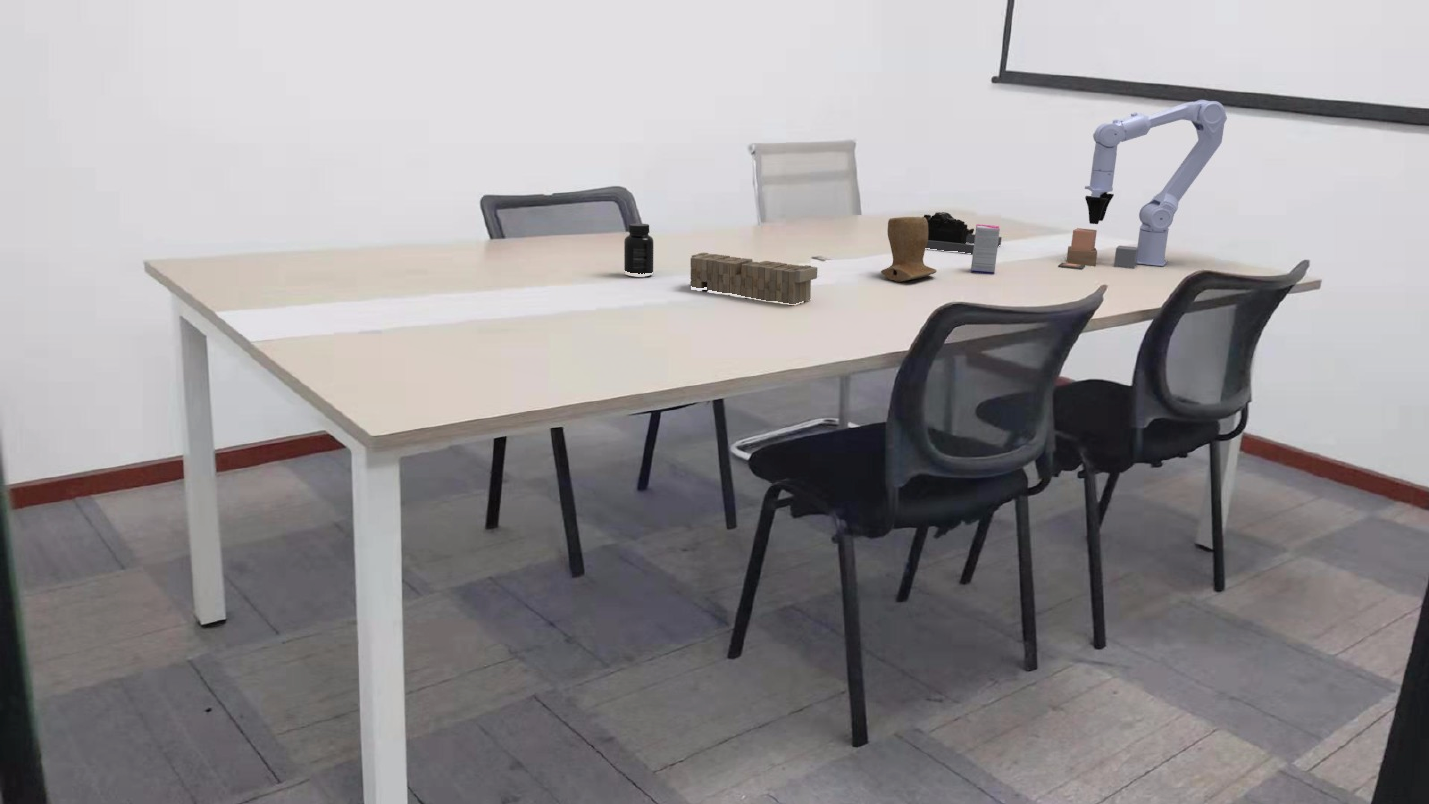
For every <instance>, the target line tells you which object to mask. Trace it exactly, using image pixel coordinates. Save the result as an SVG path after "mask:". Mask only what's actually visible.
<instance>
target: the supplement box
mask: <svg viewBox="0 0 1429 804" xmlns="http://www.w3.org/2000/svg"><path fill="white" fill-rule="evenodd" d="M975 226H976V227H975V232H974V233H975V241H974V244H973V245H974V249H973V255H972V257H971V266H970V271H971V273H973V274H986V275H987V274H988V275H994V274H995V272H996V263H997V254H998V249H999V247H998V239H999V237H1000V225H991V224H990V225H988V224H979V223H978V224H976V225H975Z"/></svg>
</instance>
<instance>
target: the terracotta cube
mask: <svg viewBox="0 0 1429 804" xmlns="http://www.w3.org/2000/svg"><path fill="white" fill-rule="evenodd" d="M1097 231H1098V230H1097V229H1089V228H1081V227H1080V228H1079V227H1076V228H1075V229H1073V230H1072V235H1071V244H1070V246H1071V249H1074V250H1083V251H1091V250H1093V249H1094V248H1096V240H1097Z"/></svg>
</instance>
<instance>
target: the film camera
mask: <svg viewBox="0 0 1429 804" xmlns="http://www.w3.org/2000/svg"><path fill="white" fill-rule="evenodd" d="M923 217H925V218H926V219H927V222H928V240H931V241H941V242H951V243H961V244H967V243H966V237H967V235H968V234H970V235H971V234H974V233H975V228H970V229H969V228H968V224H967V223H965V221H963V220H961V219H957V218H954V217H953V215H951V214H950V213H948V212H946V211H945V212H940V211H939V212H938V211H937V212H935V213H934V214H933V215H931V214H924V215H923Z"/></svg>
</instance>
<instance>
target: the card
mask: <svg viewBox="0 0 1429 804" xmlns="http://www.w3.org/2000/svg"><path fill="white" fill-rule="evenodd" d="M1057 268H1065V269H1074V270H1083V269H1084V268H1086V265H1079V264H1070V263H1067V262H1060V263H1059V264H1058V266H1057Z"/></svg>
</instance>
